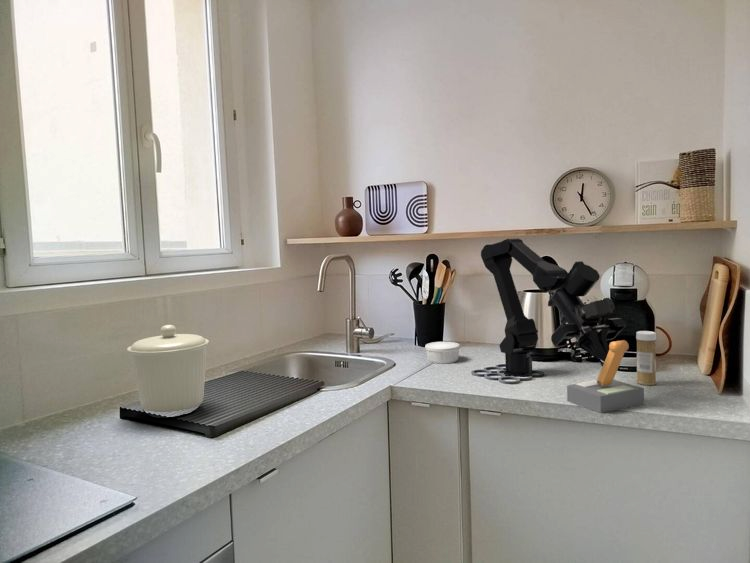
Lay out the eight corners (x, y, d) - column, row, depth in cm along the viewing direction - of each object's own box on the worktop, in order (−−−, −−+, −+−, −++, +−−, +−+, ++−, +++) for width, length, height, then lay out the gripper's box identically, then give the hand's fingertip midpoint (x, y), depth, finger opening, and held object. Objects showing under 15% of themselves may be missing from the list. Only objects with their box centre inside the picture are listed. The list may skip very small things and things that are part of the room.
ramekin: (432, 366, 162) (432, 349, 161) (421, 358, 173) (420, 343, 172) (465, 362, 164) (465, 346, 164) (452, 355, 175) (452, 340, 175)
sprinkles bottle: (659, 383, 134) (659, 331, 133) (650, 386, 131) (650, 334, 130) (642, 380, 137) (642, 329, 136) (632, 383, 135) (632, 331, 134)
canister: (137, 431, 112) (131, 334, 110) (127, 410, 127) (121, 324, 126) (221, 414, 122) (216, 324, 120) (202, 396, 137) (197, 317, 135)
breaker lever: (594, 382, 120) (611, 339, 115) (604, 380, 122) (622, 338, 116) (601, 389, 118) (619, 345, 113) (612, 387, 120) (630, 344, 114)
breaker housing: (567, 400, 122) (567, 384, 122) (608, 393, 127) (608, 377, 127) (600, 413, 113) (600, 395, 113) (643, 404, 118) (643, 387, 117)
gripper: (559, 289, 118) (597, 345, 109) (619, 284, 125) (660, 336, 116) (536, 320, 126) (570, 374, 117) (594, 313, 133) (631, 364, 124)
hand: (609, 361), depth 118 cm, fingers closed, pressing on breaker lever
